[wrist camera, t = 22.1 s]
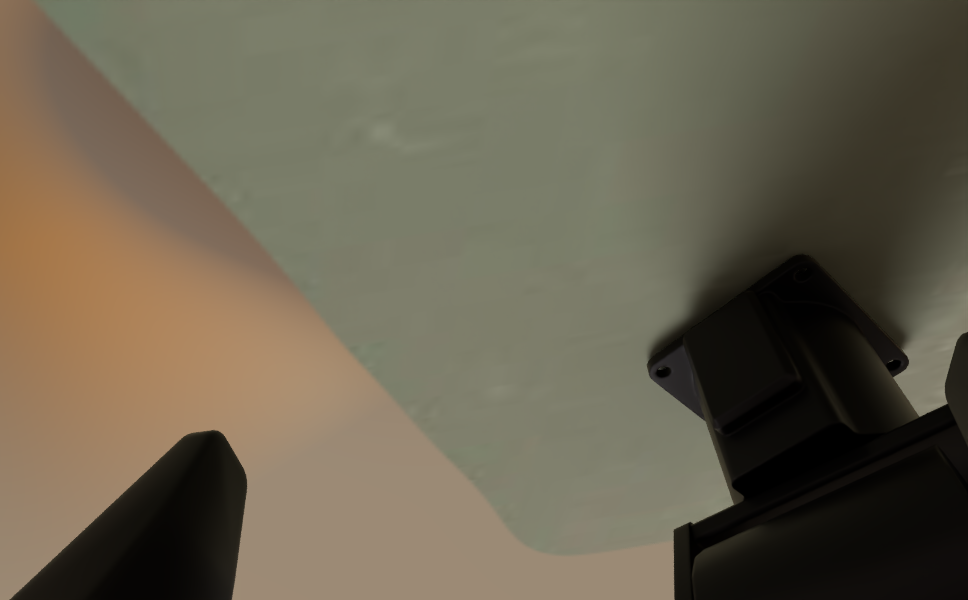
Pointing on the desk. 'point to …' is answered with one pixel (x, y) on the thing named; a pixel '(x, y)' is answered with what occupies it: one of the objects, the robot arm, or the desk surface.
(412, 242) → the desk surface
